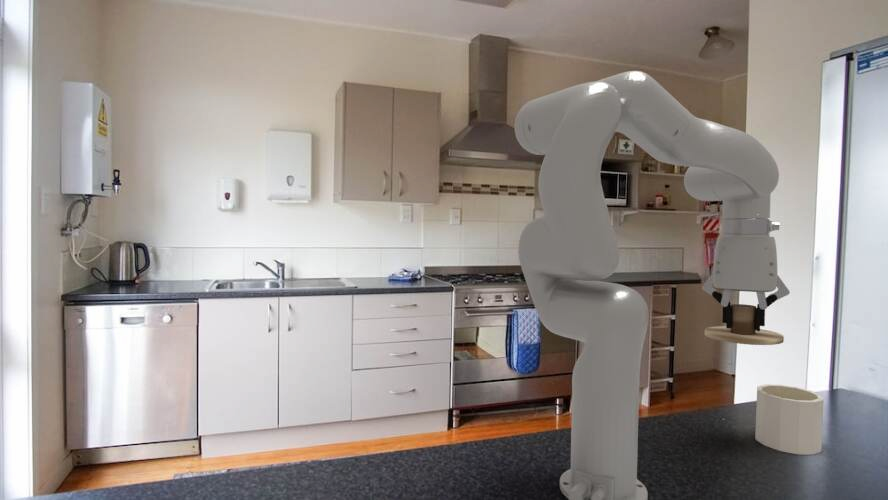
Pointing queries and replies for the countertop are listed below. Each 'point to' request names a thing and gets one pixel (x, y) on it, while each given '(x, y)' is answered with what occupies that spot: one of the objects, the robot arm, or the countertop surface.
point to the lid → (744, 329)
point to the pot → (789, 419)
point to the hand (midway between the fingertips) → (743, 327)
